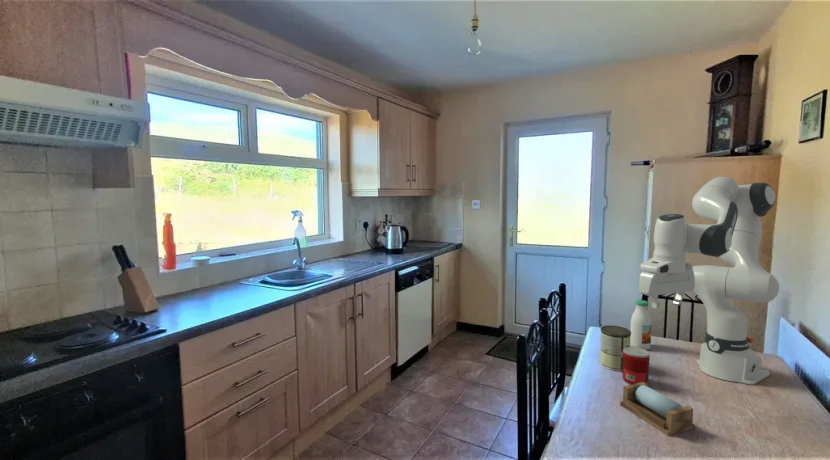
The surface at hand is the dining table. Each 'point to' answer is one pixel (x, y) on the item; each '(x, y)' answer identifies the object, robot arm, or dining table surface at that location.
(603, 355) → the coffee can
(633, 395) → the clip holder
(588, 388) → the dining table surface
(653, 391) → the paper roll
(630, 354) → the canned food
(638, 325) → the milk bottle
